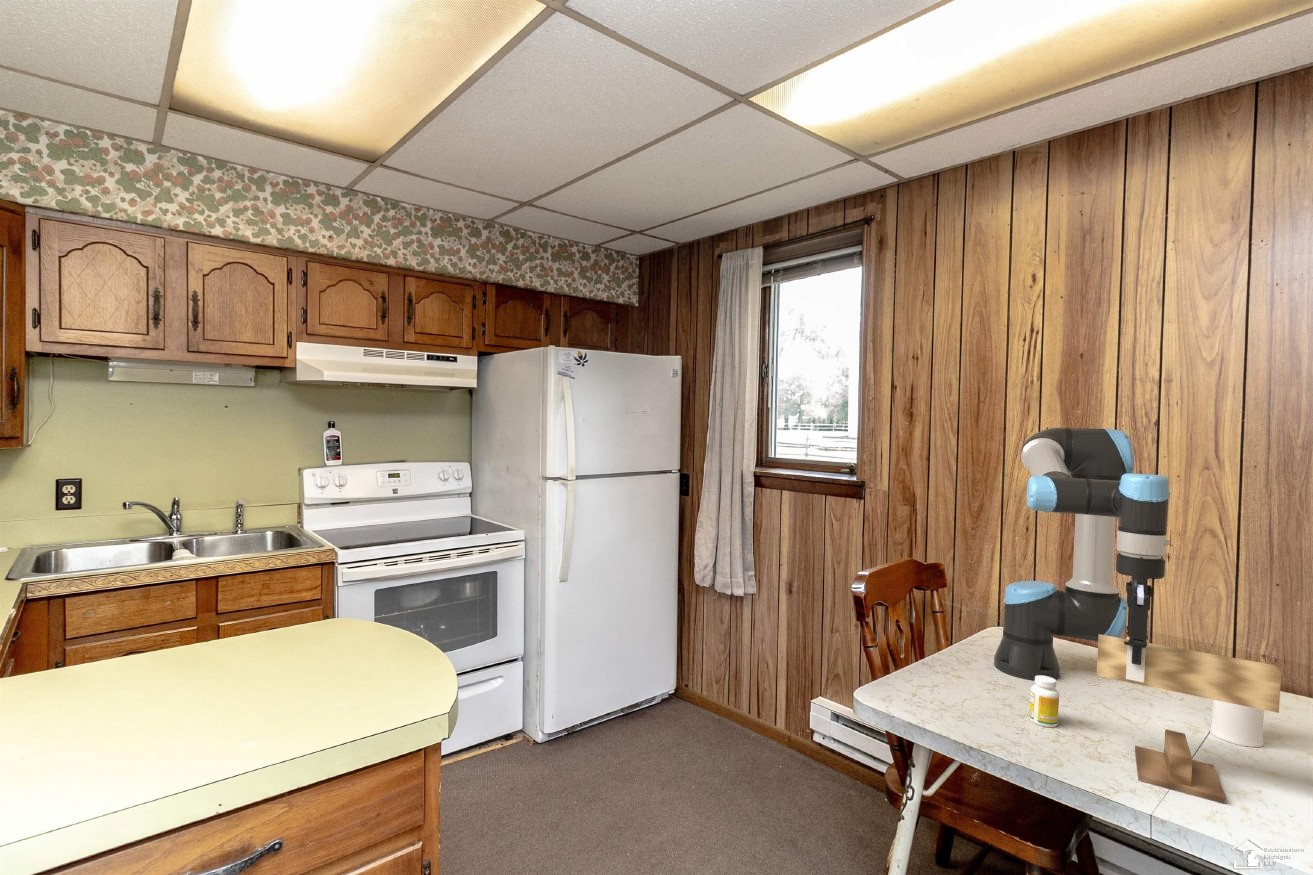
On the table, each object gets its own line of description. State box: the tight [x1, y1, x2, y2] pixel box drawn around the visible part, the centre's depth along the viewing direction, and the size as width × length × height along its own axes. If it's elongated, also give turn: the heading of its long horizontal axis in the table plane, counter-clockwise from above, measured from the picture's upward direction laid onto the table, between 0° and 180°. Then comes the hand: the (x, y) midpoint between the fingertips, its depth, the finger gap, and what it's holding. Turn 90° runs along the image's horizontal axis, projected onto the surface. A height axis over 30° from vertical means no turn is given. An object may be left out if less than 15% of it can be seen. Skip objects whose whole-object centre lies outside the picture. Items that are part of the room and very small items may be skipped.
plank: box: [1096, 634, 1282, 714], centre depth 122 cm, size 26×4×7 cm, turn 56°
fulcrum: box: [1134, 728, 1226, 805], centre depth 122 cm, size 12×14×6 cm
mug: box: [1209, 699, 1265, 748], centre depth 140 cm, size 12×8×12 cm
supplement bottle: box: [1028, 675, 1060, 728], centre depth 142 cm, size 5×5×10 cm
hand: (1134, 675), depth 126 cm, fingers closed on plank, 4 cm apart
